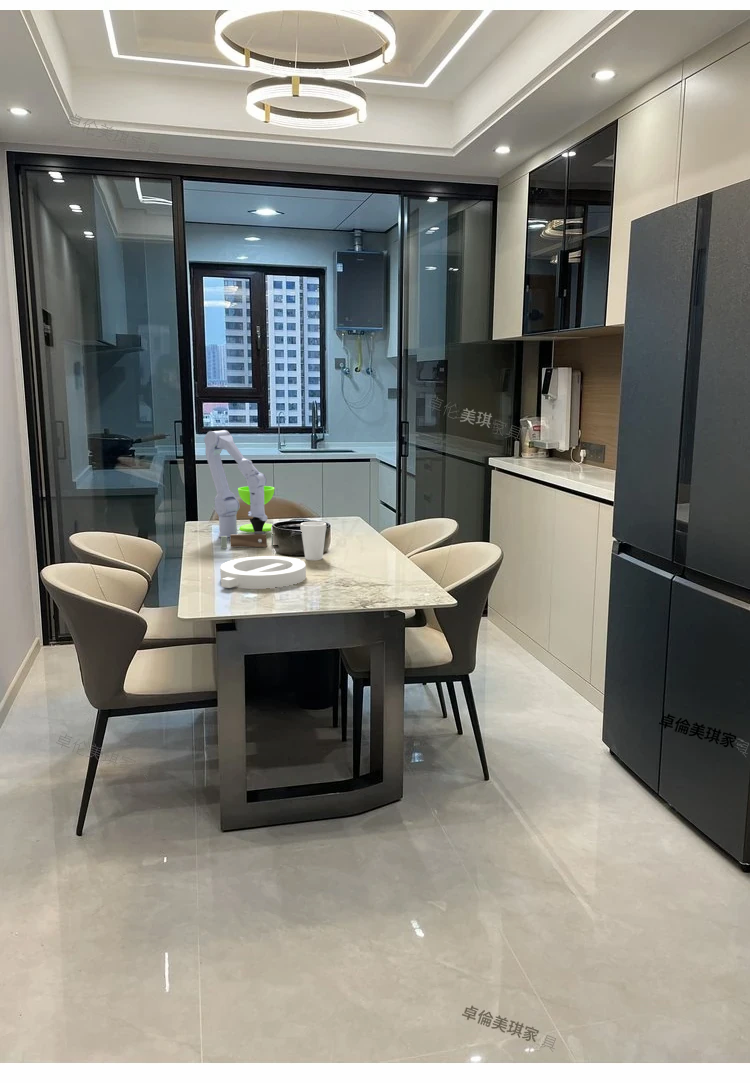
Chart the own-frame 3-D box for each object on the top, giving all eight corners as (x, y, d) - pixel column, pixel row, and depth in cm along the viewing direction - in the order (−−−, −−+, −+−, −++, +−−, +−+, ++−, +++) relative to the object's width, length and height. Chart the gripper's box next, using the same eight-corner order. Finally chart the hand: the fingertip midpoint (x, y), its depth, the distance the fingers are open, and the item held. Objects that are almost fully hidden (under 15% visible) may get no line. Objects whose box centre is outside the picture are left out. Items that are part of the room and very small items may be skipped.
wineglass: (283, 527, 354) (282, 487, 350) (259, 533, 340) (258, 491, 337) (255, 524, 362) (254, 485, 358) (231, 529, 349) (230, 489, 345)
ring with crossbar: (221, 592, 248) (220, 577, 247) (220, 571, 275) (219, 557, 274) (310, 587, 253) (310, 573, 253) (301, 567, 280) (300, 554, 279)
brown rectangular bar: (231, 546, 313) (230, 534, 312) (266, 545, 314) (266, 534, 313) (230, 547, 310) (229, 535, 309) (266, 547, 311) (266, 535, 310)
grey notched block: (254, 541, 323) (253, 529, 322) (264, 541, 324) (263, 529, 323) (255, 545, 315) (254, 533, 314) (265, 545, 316) (265, 533, 315)
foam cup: (296, 557, 294) (295, 523, 291) (317, 554, 299) (317, 520, 297) (310, 562, 287) (309, 527, 284) (331, 559, 292) (331, 524, 289)
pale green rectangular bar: (221, 547, 312) (220, 536, 311) (278, 545, 317) (277, 533, 316) (221, 548, 311) (220, 536, 310) (278, 545, 315) (278, 534, 314)
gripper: (241, 501, 329) (242, 533, 332) (255, 506, 317) (256, 539, 320) (256, 500, 333) (257, 532, 336) (271, 504, 321) (272, 537, 324)
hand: (258, 535), depth 328 cm, fingers closed
